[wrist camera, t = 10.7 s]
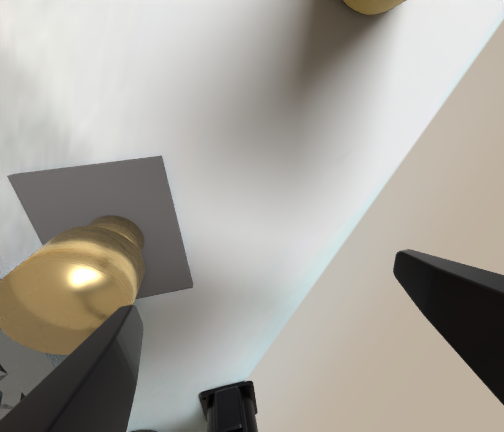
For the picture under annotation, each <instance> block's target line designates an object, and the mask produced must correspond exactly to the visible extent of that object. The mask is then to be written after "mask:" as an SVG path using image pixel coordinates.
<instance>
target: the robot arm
mask: <svg viewBox="0 0 504 432" xmlns="http://www.w3.org/2000/svg"><path fill="white" fill-rule="evenodd" d="M393 273H394V275H395V277H396V279H397V280H398V281H399V283H400V284H401V285H402V287H403V288H404V289H405V291H406V292H407V294H408V295H409V296H410V297H411V299H412V300H413V302H414V303H415V304H416V306H417V307H418V308H419V310H420V311H421V312H422V313H423V315H424V316H425V317H426V318H427V319H428V321H430V323H431V324H432V325H433V326H434V327H435V328H436V329H437V331H438V332H439V333H440V334H441V335H442V336H443V337H444V339H445V340H446V341H447V342H448V343H449V344H450V345H451V346H452V348H453V349H454V350H455V351H456V352H457V353H458V354H459V355H460V357H461V358H462V359H463V360H464V361H465V362H466V363H467V365H468V366H469V367H470V368H471V369H472V370H473V371H474V372H475V374H477V376H478V377H479V378H480V379H481V380H482V381H483V383H484V384H485V385H486V386H487V387H488V388H489V389H490V390H491V392H492V393H493V394H494V395H495V396H496V397H497V398H498V399H499V401H500V402H501V403H502V404H503V405H504V275H501V274H497V273H493V272H490V271H487V270H483V269H479V268H476V267H472V266H468V265H465V264H461V263H458V262H454V261H450V260H447V259H443V258H439V257H436V256H432V255H428V254H425V253H421V252H417V251H414V250H410V249H407V250H403V251H399V252H397V254H396V257H395V263H394V268H393ZM142 337H143V324H142V321H141V318H140V316H139V313H138V310H137V308H136V306H135V305H127V306H122V307H120V308H118V309H117V310H116V311H115V312H114V313H113V314H112V315H111V316H110V317H109V318H108V319H107V320H105V321H104V322H103V323H102V324H101V325H100V326H99V327H98V328H97V329H96V330H95V331H94V332H93V333H92V334H91V335H90V336H89V337H87V338H86V339H85V340H84V341H83V342H82V343H81V344H80V345H79V346H78V347H77V348H76V349H75V350H74V351H73V352H72V353H71V354H69V355H68V356H67V357H66V358H65V359H64V360H63V361H62V362H61V363H60V364H59V365H58V366H57V367H56V368H55V369H54V370H53V371H52V372H50V373H49V374H48V375H47V376H46V377H45V378H44V379H43V380H42V381H41V382H40V383H39V384H38V385H37V386H36V387H35V388H34V389H32V390H31V391H30V392H29V393H28V394H27V395H26V396H25V397H24V398H23V399H22V400H21V401H20V402H19V403H18V404H17V405H16V406H14V407H13V408H12V409H11V410H10V411H9V412H8V413H7V414H6V415H5V416H4V417H3V418H2V419H1V420H0V432H126V430H127V425H128V421H129V417H130V412H131V408H132V403H133V399H134V394H135V390H136V385H137V378H138V371H139V362H140V354H141V345H142ZM200 401H201V404H202V408H203V411H204V414H205V418H206V421H207V432H258V429H257V423H256V418H255V414H257V406H256V399H255V392H254V386H253V382H252V381H246V382H242V383H238V384H235V385H231V386H227V387H223V388H219V389H215V390H211V391H207V392H203V393H201V394H200Z"/></svg>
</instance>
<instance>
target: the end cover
mask: <svg viewBox="0 0 504 432" xmlns="http://www.w3.org/2000/svg"><path fill="white" fill-rule="evenodd" d="M144 243H145V241H144V236H143V233H142V231H141V230H140V228H139V227H138V226H137V225H136V224H135V223H133V222H132V221H130V220H129V219H127V218H124V217H121V216H115V215H107V216H102V217H99V218H96V219H95V220H93V221H92V222H91V223H90V224H88V225H87V226H80V227H74V228H71V229H68V230H65V231H63V232H61V233H59V234H58V235H56V236H55V237H53V238H52V239H51V240H50V241H48V242H47V243H46V244H45V245H44V246H42V247H41V248H40V249H39V250H37V251H36V252H35V253H34V254H32V255H31V256H30V257H29V258H27V259H26V260H25V261H24V262H22V263H21V264H20V265H19V266H17V267H16V268H15V269H14V270H13V271H11V272H10V273H9V274H8V275H6V276H5V277H4V278H3V279H2V280H1V281H0V328H1V330H2V331H3V332H4V333H5V334H6V335H8V336H9V337H10V338H12V339H13V340H14V341H16V342H18V343H20V344H21V345H23V346H26V347H28V348H31V349H33V350H36V351H40V352H44V353H50V354H58V355H69V354H71V353H72V352H73V351H74V350H75V349H76V348H77V347H78V346H79V345H80V344H81V343H82V342H83V341H84V340H85V339H86V338H87V337H89V336H90V335H91V334H92V333H93V332H94V331H95V330H96V329H97V328H98V327H99V326H100V325H101V324H102V323H103V322H104V321H105V320H107V319H108V318H109V317H110V316H111V315H112V314H113V313H114V312H115V311H116V310H117V309H118V308H120V307H122V306H127V305H133V304H134V301H135V298H136V296H137V293H138V290H139V288H140V285H141V282H142V280H143V277H144V272H145V266H144V261H143V258H142V255H141V253H142V251H143V249H144Z"/></svg>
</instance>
